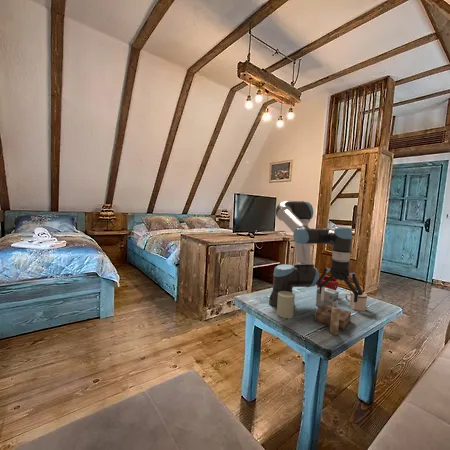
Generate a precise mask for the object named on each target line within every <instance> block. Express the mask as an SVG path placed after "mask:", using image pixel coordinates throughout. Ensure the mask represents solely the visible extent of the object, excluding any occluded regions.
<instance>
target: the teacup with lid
mask: <svg viewBox="0 0 450 450" xmlns="http://www.w3.org/2000/svg"><path fill="white" fill-rule="evenodd" d="M357 292H358V291H357ZM352 295H353V292H352V291H350V293H346V294H345V296H344V298H345V300H346V301H347V302H349V305H348V306H349V308H350V309H351V304H352ZM348 296H349V297H350V298H348ZM367 299H368V294H367V293H365V292H363V294H362V295H358V300H357V302H355V305H354V309H353V311H357V312H365V311H366V309H367V302H368V301H367Z"/></svg>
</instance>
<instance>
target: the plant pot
mask: <svg viewBox="0 0 450 450" xmlns="http://www.w3.org/2000/svg"><path fill="white" fill-rule="evenodd" d="M320 276H321V275H319V278H320ZM329 277H330V276H327V275H325V277H324V278H323V279H322V281H321V282H320V283H321V284H322V283H323V282H324V281H325V280H326V279H328V278H329ZM338 286H339V280H336V279H334V278H332V279H331V280H330V281H329V282H327V283H326V284H325V285H324V287H325V288H329V289H332V290H336V291H338V290H337V289H338ZM316 287H317V288H320V287H319V286H318V285H316ZM317 288H316V289H317Z"/></svg>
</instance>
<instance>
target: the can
mask: <svg viewBox="0 0 450 450" xmlns="http://www.w3.org/2000/svg"><path fill="white" fill-rule="evenodd" d="M295 297H296V295H295V293H293V292H292V293H291V292H288V291H280V292H278V301H277V307H276V312H275V313H276V315H277V316H278V317H280V318H283V319H291V318H293V317H294V309H295V308H294V307H295V303H294V301H295Z"/></svg>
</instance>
